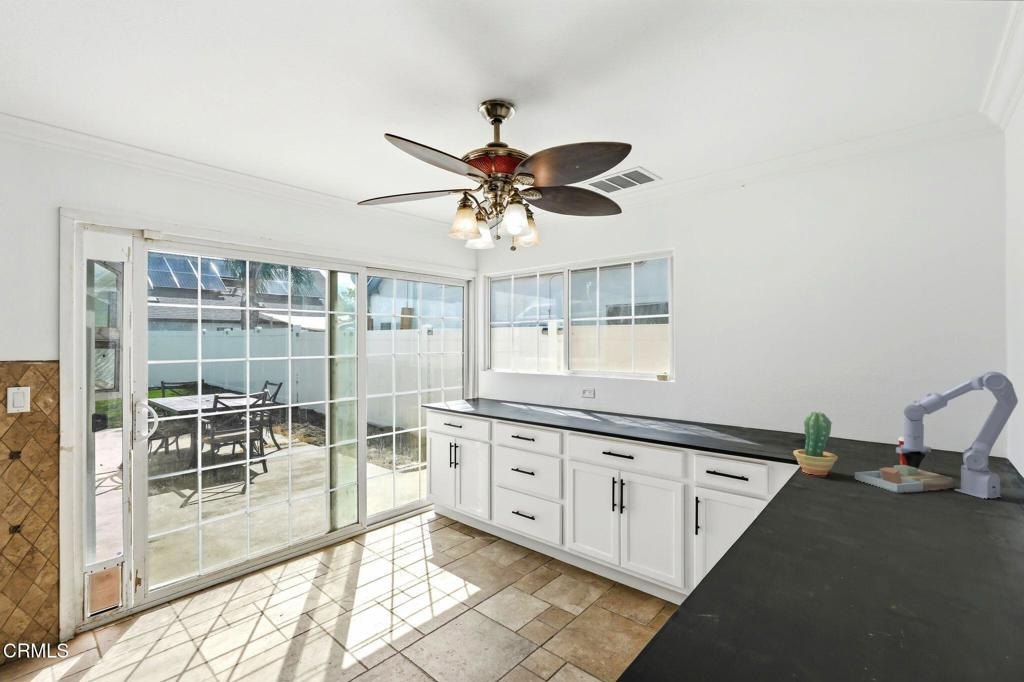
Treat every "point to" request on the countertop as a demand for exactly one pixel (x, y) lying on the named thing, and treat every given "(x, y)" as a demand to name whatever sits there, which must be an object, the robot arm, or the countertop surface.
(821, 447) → the potted cactus
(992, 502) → the countertop surface
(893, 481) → the terracotta tile
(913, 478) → the wooden board
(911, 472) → the sage tile
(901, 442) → the paper cup
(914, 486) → the box
